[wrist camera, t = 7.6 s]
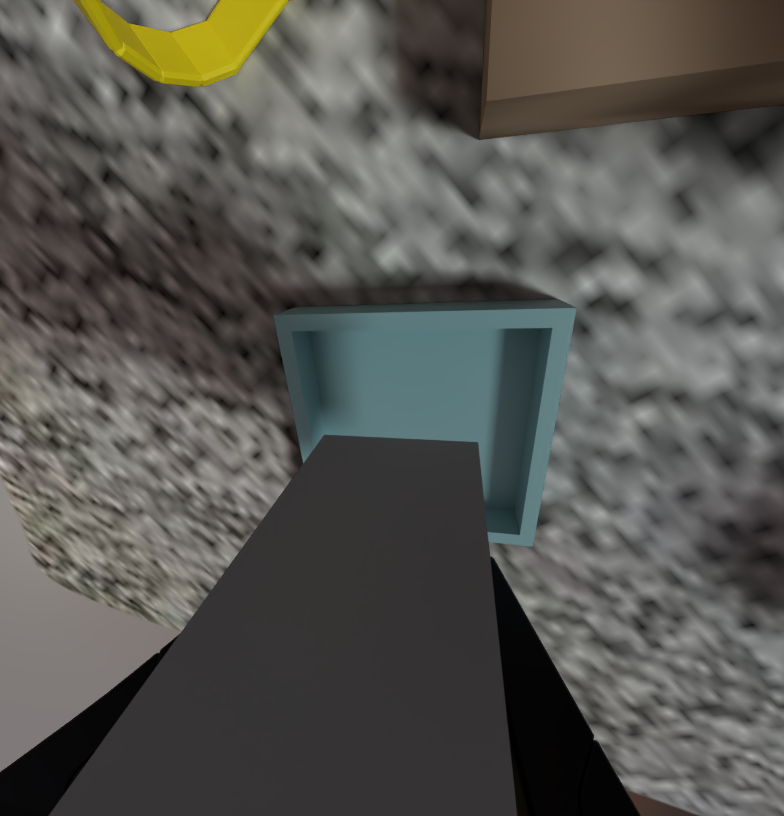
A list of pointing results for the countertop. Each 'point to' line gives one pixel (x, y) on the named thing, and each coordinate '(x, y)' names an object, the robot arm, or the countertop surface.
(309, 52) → the countertop surface
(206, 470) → the countertop surface
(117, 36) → the watch
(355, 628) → the plug block
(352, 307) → the teal tray
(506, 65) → the walnut dock
